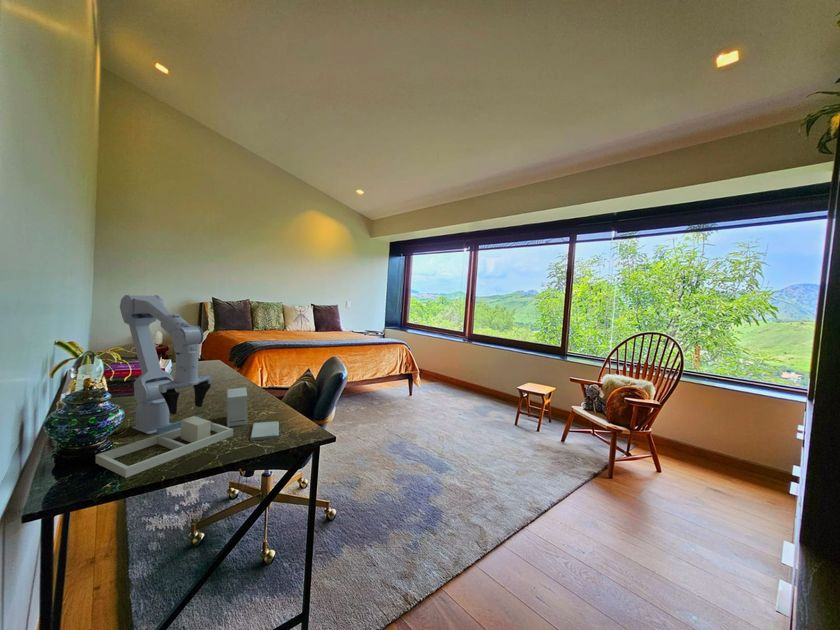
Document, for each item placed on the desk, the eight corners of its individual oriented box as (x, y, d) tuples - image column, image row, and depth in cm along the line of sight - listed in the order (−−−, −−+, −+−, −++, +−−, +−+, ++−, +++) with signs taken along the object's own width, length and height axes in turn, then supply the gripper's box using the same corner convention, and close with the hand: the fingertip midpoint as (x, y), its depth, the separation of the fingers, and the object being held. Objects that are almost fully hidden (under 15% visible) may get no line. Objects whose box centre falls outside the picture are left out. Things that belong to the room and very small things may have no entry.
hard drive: (278, 435, 111) (278, 420, 122) (250, 437, 108) (253, 422, 119) (278, 440, 111) (278, 425, 122) (250, 442, 108) (252, 427, 119)
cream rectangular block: (180, 438, 106) (180, 419, 106) (193, 434, 110) (193, 416, 110) (197, 445, 103) (197, 425, 103) (210, 440, 107) (210, 421, 106)
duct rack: (93, 461, 90) (93, 447, 90) (202, 425, 117) (202, 414, 116) (125, 477, 84) (125, 462, 84) (233, 435, 111) (233, 423, 110)
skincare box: (226, 416, 126) (227, 388, 125) (246, 414, 129) (246, 387, 128) (226, 427, 117) (226, 397, 116) (247, 424, 120) (248, 395, 119)
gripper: (169, 372, 96) (168, 420, 97) (218, 364, 110) (217, 405, 111) (154, 368, 99) (153, 414, 100) (203, 360, 112) (202, 401, 113)
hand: (186, 409), depth 106 cm, fingers open, 7 cm apart
